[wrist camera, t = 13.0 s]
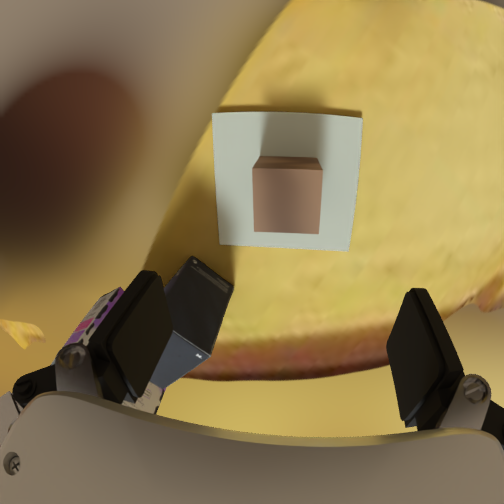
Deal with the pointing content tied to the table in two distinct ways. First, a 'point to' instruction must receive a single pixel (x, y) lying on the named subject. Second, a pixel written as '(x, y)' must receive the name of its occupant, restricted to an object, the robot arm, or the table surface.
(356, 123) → the mat
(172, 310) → the small box
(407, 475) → the robot arm
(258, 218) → the cube
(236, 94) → the table surface
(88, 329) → the candy box
